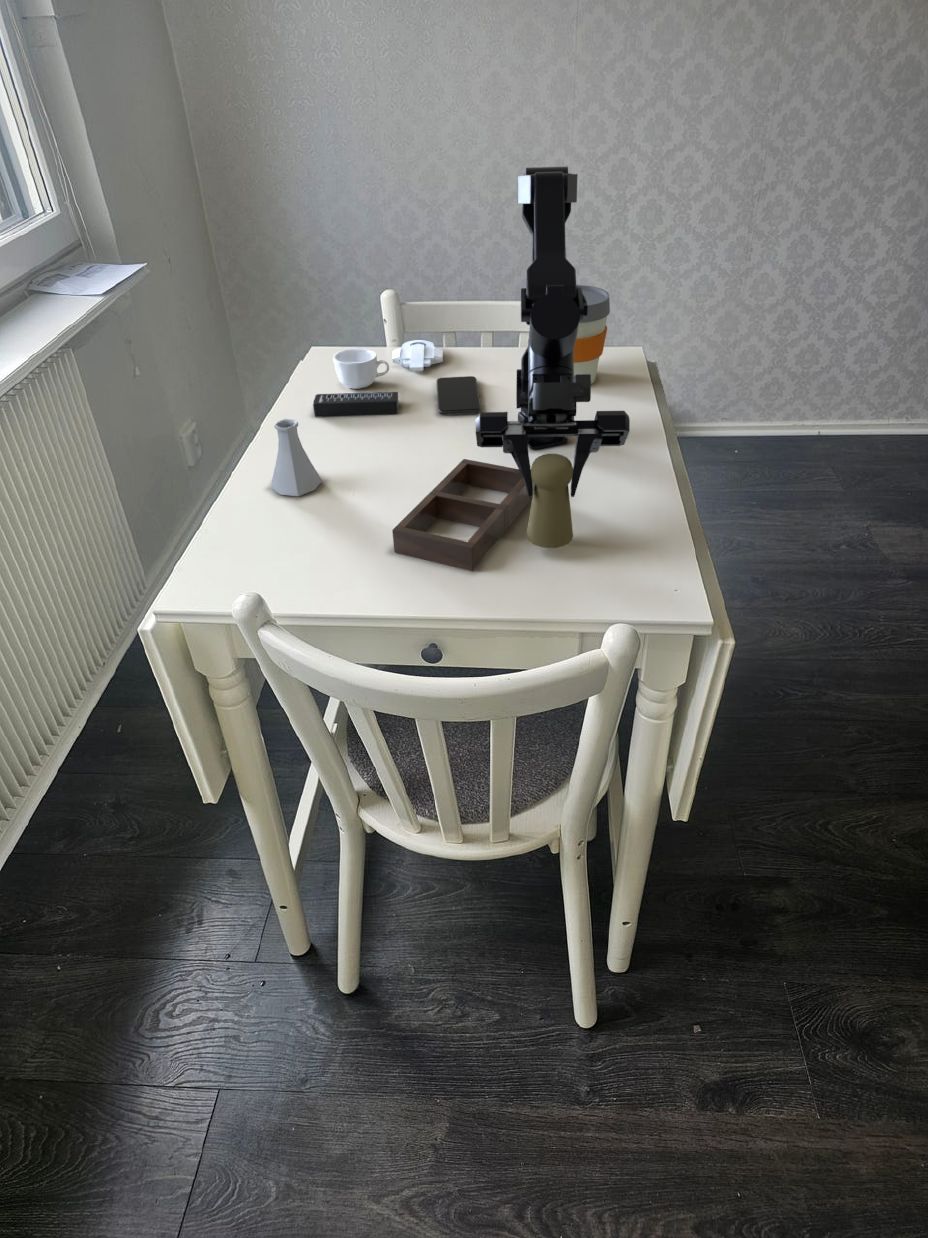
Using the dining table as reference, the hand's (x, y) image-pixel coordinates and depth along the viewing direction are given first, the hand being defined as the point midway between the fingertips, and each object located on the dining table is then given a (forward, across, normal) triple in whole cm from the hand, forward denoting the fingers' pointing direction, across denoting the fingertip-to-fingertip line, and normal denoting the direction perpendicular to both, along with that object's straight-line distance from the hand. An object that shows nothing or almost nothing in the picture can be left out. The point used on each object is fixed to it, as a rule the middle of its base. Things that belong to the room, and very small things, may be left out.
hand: (551, 496), depth 106 cm
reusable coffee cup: (-35, +6, +49) cm, 60 cm away
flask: (-7, -37, +20) cm, 43 cm away
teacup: (-34, -32, +48) cm, 67 cm away
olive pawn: (+4, 0, +6) cm, 7 cm away
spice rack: (0, -11, +12) cm, 16 cm away
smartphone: (-29, -14, +43) cm, 54 cm away
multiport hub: (-26, -32, +39) cm, 57 cm away
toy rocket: (-43, -23, +56) cm, 74 cm away
